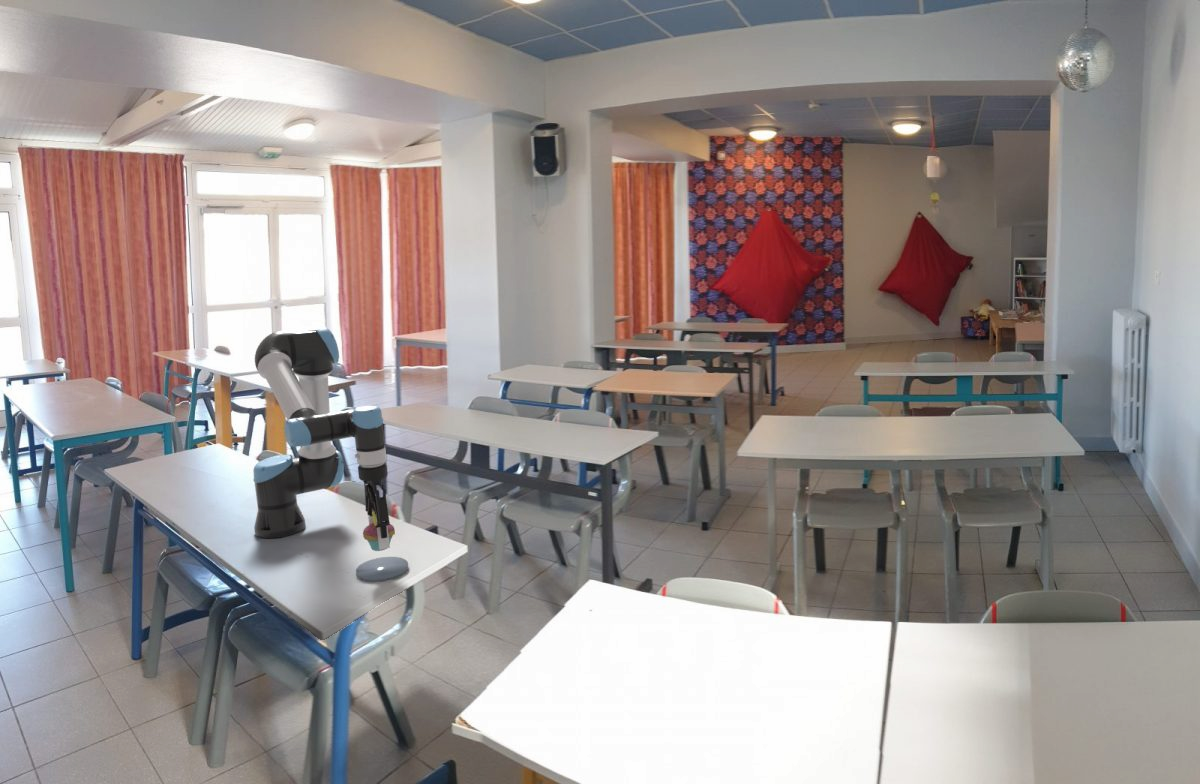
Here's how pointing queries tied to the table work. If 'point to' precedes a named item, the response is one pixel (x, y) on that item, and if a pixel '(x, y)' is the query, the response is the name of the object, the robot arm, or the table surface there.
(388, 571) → the slate plate
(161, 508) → the table surface
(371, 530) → the cupcake
